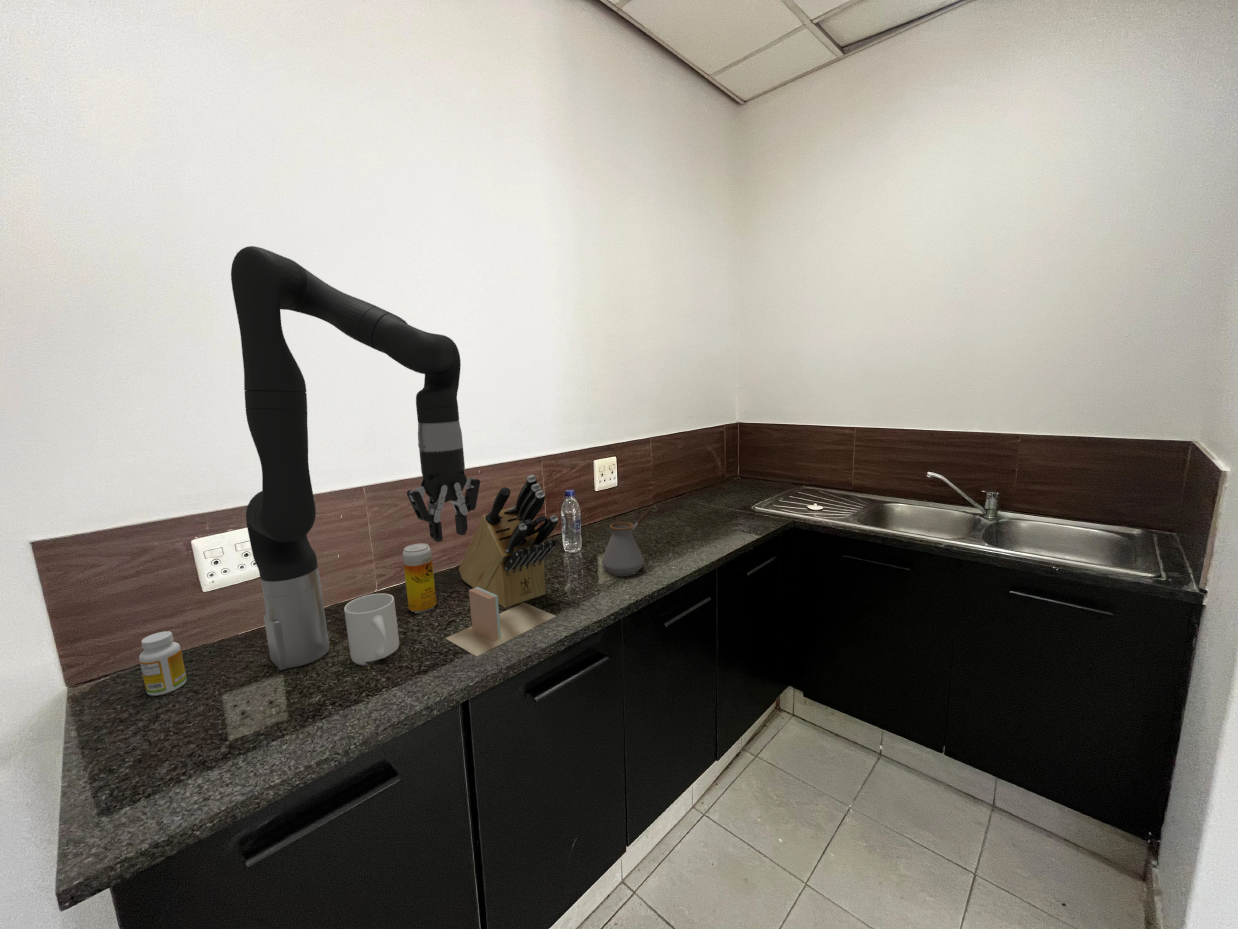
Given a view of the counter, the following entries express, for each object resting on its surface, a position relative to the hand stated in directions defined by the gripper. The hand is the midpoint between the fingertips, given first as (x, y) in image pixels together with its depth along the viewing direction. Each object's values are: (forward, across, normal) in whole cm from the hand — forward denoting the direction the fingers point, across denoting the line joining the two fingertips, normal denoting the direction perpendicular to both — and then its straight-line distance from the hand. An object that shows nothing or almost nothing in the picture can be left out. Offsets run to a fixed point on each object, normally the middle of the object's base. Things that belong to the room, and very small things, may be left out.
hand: (449, 537), depth 93 cm
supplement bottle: (+23, -39, +32) cm, 56 cm away
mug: (+24, -11, +11) cm, 28 cm away
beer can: (+23, +5, +24) cm, 34 cm away
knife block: (+24, +22, +14) cm, 35 cm away
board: (+23, +10, 0) cm, 25 cm away
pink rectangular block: (+22, +6, 0) cm, 23 cm away
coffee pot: (+24, +55, +1) cm, 60 cm away
